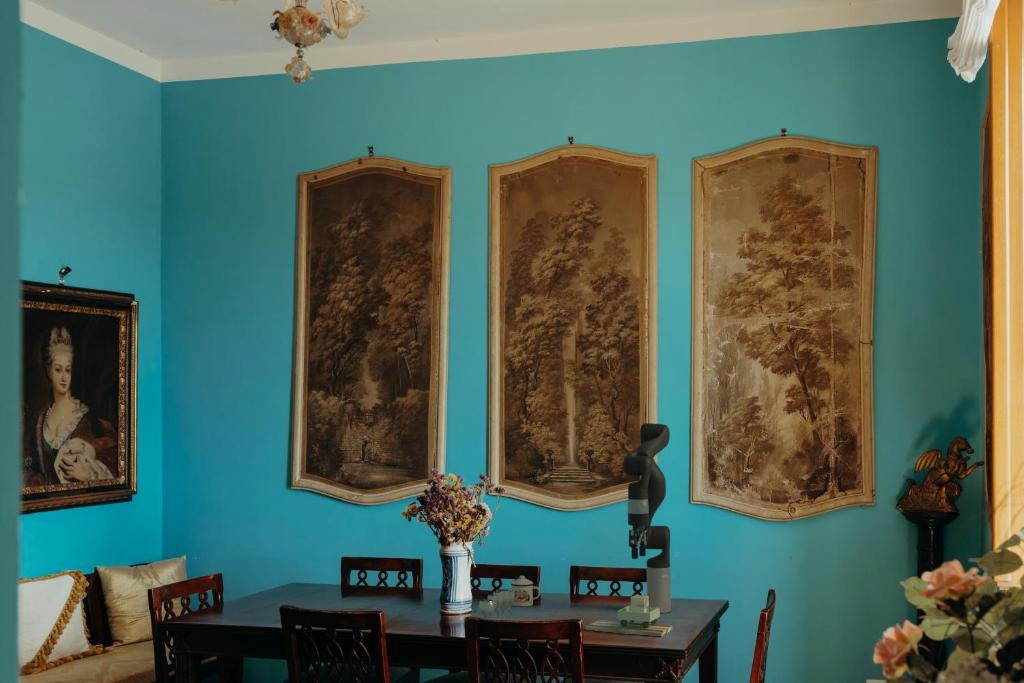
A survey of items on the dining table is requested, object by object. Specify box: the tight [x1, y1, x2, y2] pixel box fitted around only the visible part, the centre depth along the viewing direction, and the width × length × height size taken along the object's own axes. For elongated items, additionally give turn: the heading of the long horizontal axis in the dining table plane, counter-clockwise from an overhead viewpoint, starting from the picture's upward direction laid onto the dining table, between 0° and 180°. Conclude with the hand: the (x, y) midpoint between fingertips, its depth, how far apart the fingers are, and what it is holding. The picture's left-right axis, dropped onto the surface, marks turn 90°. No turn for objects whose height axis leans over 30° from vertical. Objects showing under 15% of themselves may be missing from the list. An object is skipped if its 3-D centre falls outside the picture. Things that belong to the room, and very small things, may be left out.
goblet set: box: [478, 588, 515, 620], centre depth 386 cm, size 28×6×13 cm, turn 161°
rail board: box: [585, 619, 674, 637], centre depth 381 cm, size 14×28×2 cm, turn 64°
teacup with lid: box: [510, 575, 541, 607], centre depth 435 cm, size 12×9×12 cm
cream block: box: [630, 594, 649, 613], centre depth 380 cm, size 5×5×6 cm
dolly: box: [617, 605, 661, 628], centre depth 380 cm, size 11×12×6 cm
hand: (638, 557), depth 381 cm, fingers open, 8 cm apart
